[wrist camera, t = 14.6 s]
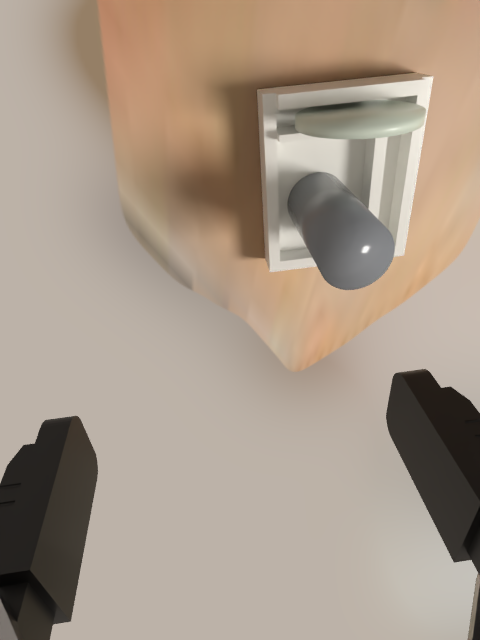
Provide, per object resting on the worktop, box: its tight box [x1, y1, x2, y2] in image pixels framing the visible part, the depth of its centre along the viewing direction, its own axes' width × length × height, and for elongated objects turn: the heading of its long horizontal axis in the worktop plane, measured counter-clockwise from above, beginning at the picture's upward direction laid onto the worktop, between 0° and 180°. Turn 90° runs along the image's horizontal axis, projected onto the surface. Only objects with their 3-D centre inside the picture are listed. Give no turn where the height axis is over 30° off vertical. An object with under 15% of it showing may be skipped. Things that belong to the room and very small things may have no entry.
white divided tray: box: [257, 73, 433, 272], centre depth 34 cm, size 15×13×10 cm
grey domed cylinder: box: [287, 172, 395, 290], centre depth 34 cm, size 5×5×11 cm
